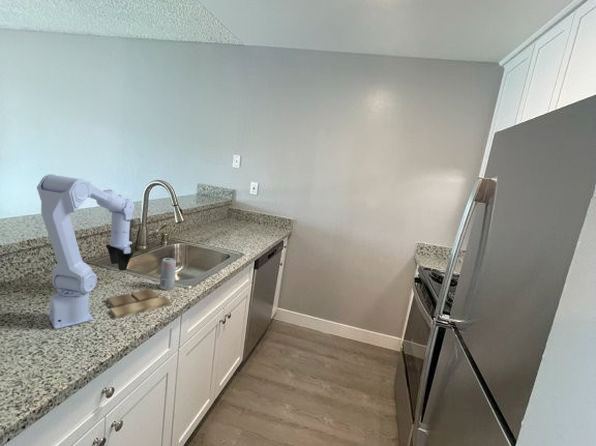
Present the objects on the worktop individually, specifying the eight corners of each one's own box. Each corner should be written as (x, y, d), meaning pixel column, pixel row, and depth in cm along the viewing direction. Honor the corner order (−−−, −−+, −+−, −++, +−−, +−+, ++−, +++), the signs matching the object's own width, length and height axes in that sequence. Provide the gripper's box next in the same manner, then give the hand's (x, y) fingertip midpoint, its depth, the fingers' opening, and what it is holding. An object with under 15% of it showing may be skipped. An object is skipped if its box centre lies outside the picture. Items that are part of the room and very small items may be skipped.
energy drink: (170, 284, 126) (172, 257, 124) (176, 288, 122) (178, 260, 120) (157, 286, 121) (159, 258, 119) (163, 291, 118) (165, 262, 116)
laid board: (116, 318, 95) (116, 315, 95) (109, 310, 99) (109, 307, 99) (170, 304, 109) (171, 301, 109) (163, 298, 113) (163, 295, 112)
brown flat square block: (113, 308, 100) (114, 305, 100) (106, 301, 105) (106, 297, 104) (136, 303, 106) (136, 300, 105) (128, 296, 110) (128, 293, 110)
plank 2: (138, 302, 106) (139, 299, 106) (131, 295, 111) (131, 292, 111) (158, 298, 112) (158, 295, 112) (150, 291, 116) (150, 289, 116)
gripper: (140, 235, 106) (138, 271, 108) (124, 225, 115) (123, 259, 117) (118, 236, 100) (116, 274, 103) (103, 226, 109) (102, 261, 112)
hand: (118, 266), depth 110 cm, fingers open, 7 cm apart
